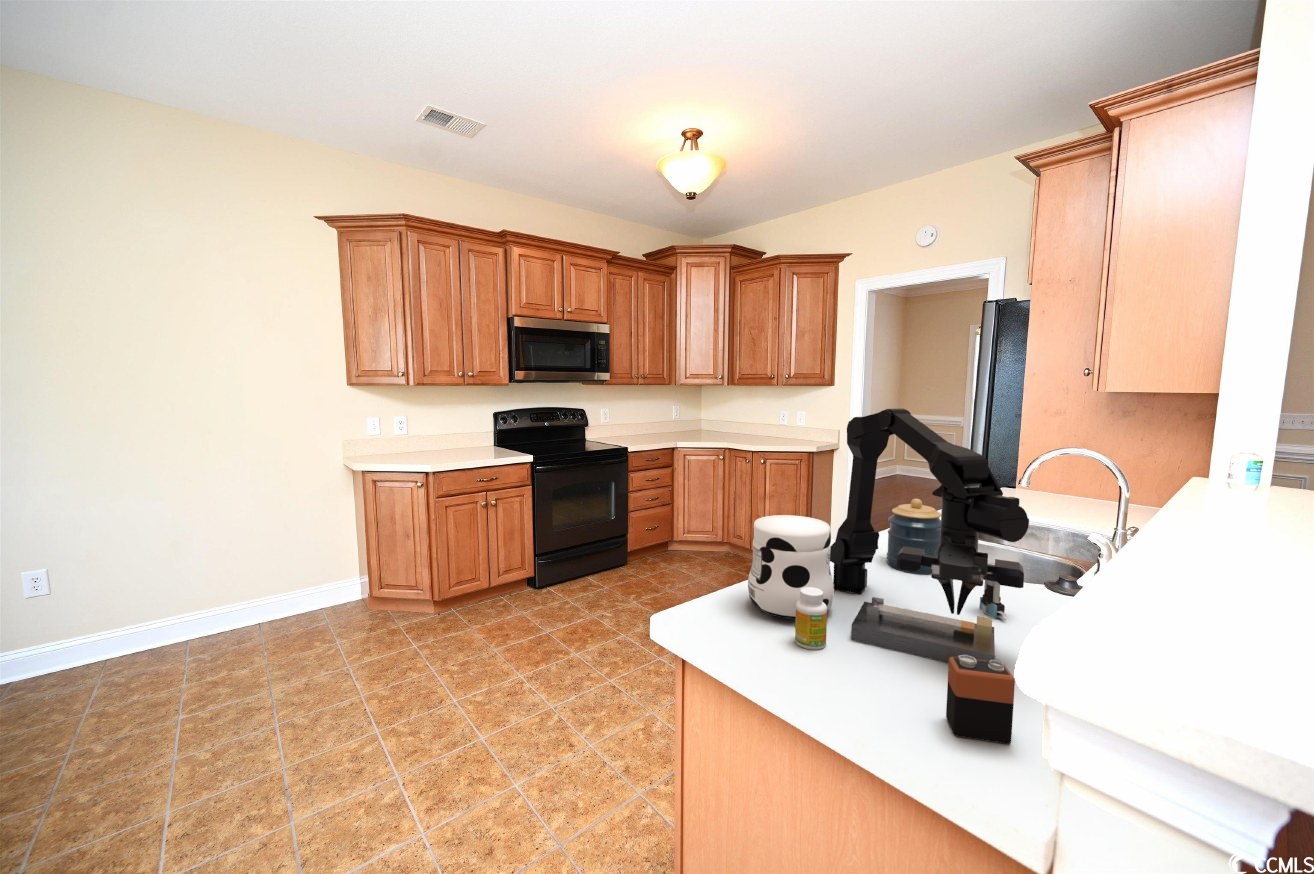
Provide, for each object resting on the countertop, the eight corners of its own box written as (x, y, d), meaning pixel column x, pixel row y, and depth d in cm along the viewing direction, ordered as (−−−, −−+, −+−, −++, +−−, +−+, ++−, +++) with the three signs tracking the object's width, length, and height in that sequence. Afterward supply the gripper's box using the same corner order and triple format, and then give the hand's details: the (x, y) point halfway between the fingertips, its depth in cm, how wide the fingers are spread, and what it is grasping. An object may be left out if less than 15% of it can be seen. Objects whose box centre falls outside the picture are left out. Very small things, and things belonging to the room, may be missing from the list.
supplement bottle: (809, 653, 92) (811, 599, 91) (788, 640, 97) (789, 588, 96) (832, 646, 95) (834, 593, 94) (811, 633, 99) (812, 583, 99)
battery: (944, 717, 74) (948, 649, 73) (1000, 725, 72) (1004, 655, 71) (953, 737, 70) (957, 664, 69) (1012, 746, 68) (1017, 672, 67)
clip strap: (870, 613, 99) (870, 607, 99) (873, 607, 102) (873, 601, 102) (973, 635, 90) (974, 628, 90) (974, 628, 93) (974, 621, 93)
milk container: (847, 606, 112) (849, 522, 110) (809, 635, 99) (811, 540, 97) (773, 586, 123) (775, 510, 122) (731, 609, 110) (732, 524, 109)
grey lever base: (851, 640, 97) (852, 608, 96) (864, 615, 107) (865, 587, 107) (993, 673, 85) (995, 637, 85) (993, 643, 96) (995, 610, 95)
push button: (1017, 622, 104) (1020, 572, 103) (990, 622, 104) (992, 572, 103) (995, 607, 111) (997, 561, 110) (969, 608, 111) (972, 561, 110)
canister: (886, 555, 145) (888, 492, 143) (940, 561, 140) (943, 495, 138) (886, 571, 133) (888, 501, 132) (945, 578, 128) (948, 506, 126)
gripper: (893, 529, 90) (890, 618, 91) (1028, 546, 80) (1022, 646, 81) (902, 515, 99) (899, 596, 100) (1024, 529, 89) (1019, 619, 91)
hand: (955, 613), depth 93 cm, fingers closed
